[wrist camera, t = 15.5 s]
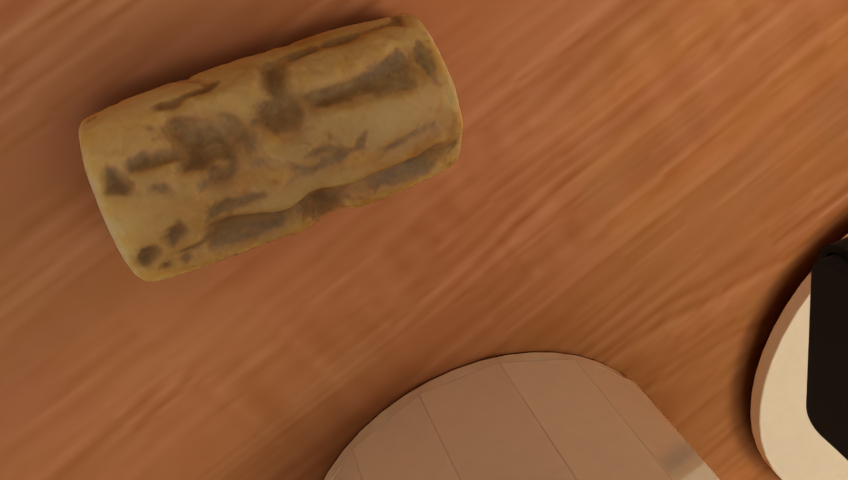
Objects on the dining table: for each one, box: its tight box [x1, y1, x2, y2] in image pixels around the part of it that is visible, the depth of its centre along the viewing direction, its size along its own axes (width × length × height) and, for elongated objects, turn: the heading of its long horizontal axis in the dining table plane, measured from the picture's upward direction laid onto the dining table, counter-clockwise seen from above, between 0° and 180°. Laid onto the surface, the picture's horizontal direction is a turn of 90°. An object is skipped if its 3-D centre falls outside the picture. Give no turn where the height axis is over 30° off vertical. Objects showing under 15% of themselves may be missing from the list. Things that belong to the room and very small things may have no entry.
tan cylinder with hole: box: [78, 13, 463, 282], centre depth 19 cm, size 8×4×4 cm, turn 103°
